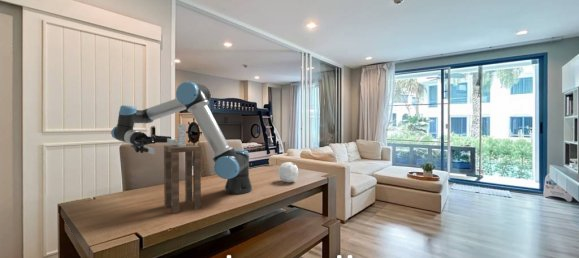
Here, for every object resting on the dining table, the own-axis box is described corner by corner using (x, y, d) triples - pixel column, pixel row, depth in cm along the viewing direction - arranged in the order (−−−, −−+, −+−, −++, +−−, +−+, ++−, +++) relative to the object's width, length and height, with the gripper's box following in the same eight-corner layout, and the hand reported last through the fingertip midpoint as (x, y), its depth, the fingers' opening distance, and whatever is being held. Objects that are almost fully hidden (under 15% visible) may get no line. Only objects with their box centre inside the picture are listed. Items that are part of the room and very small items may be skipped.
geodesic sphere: (306, 172, 167) (294, 155, 169) (301, 176, 154) (288, 158, 156) (289, 183, 170) (278, 167, 172) (283, 188, 157) (271, 170, 159)
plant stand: (164, 205, 116) (163, 145, 115) (190, 200, 124) (190, 144, 123) (173, 213, 106) (172, 148, 105) (200, 207, 114) (200, 146, 113)
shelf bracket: (173, 143, 127) (173, 123, 127) (179, 143, 129) (179, 123, 129) (178, 146, 110) (178, 124, 110) (185, 146, 112) (185, 124, 112)
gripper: (157, 138, 144) (185, 147, 137) (113, 152, 122) (143, 163, 114) (156, 126, 142) (185, 134, 134) (111, 137, 120) (142, 147, 112)
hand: (166, 147), depth 124 cm, fingers open, 13 cm apart
